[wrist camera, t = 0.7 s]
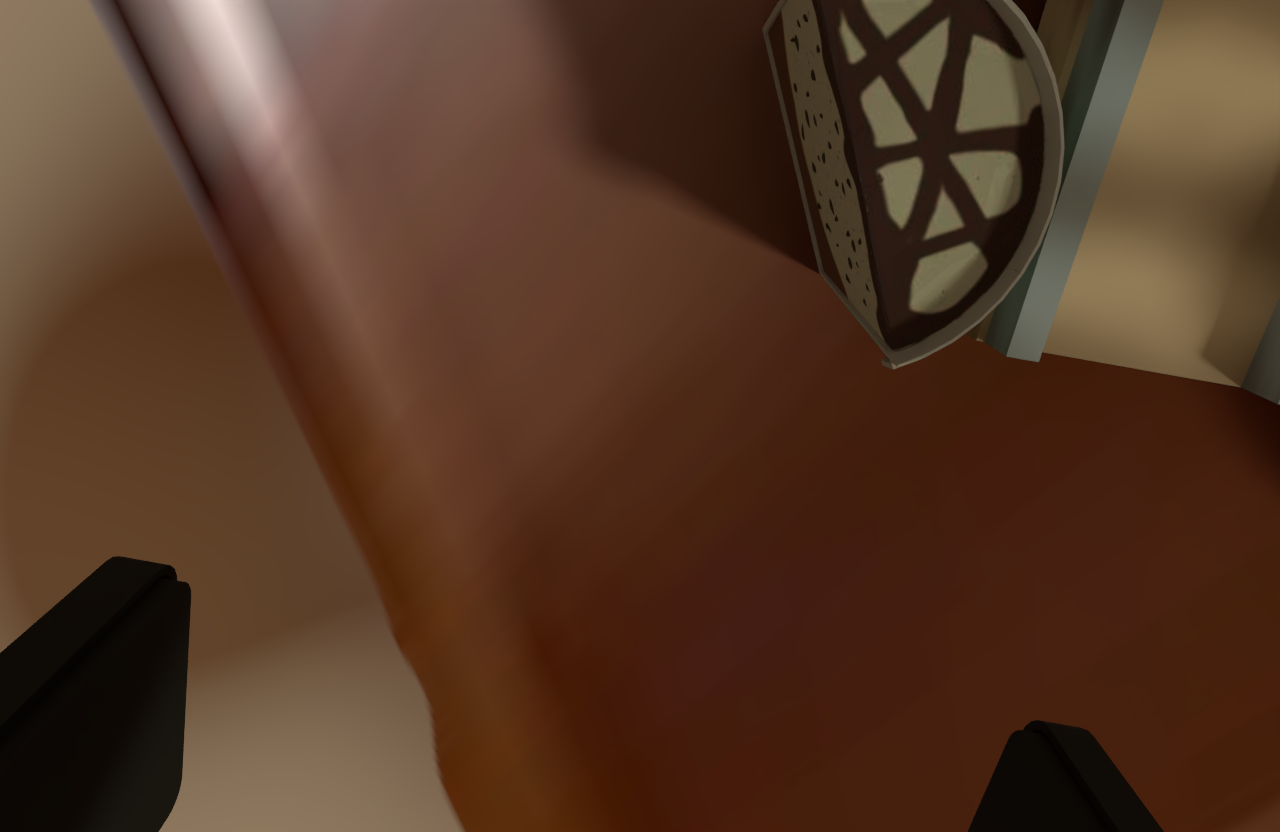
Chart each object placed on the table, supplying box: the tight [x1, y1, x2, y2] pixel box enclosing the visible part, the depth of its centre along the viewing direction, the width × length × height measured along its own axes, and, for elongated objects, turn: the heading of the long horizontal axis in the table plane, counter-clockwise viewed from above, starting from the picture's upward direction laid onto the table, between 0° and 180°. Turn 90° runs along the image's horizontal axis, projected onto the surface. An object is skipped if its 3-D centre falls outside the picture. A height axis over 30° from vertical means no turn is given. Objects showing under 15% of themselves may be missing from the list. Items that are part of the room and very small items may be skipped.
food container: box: [762, 0, 1065, 369], centre depth 28 cm, size 12×6×10 cm, turn 17°
